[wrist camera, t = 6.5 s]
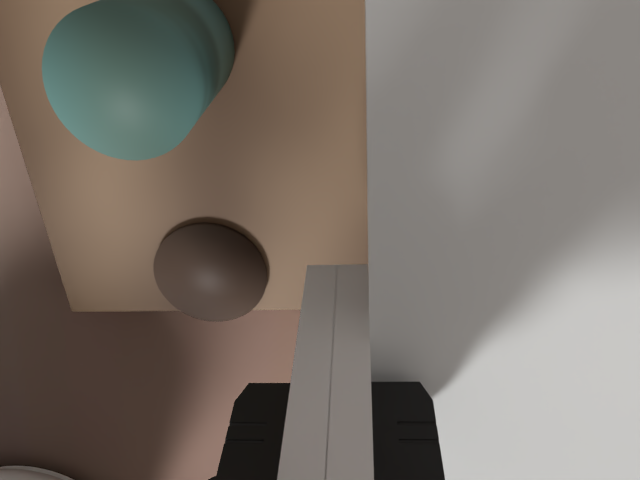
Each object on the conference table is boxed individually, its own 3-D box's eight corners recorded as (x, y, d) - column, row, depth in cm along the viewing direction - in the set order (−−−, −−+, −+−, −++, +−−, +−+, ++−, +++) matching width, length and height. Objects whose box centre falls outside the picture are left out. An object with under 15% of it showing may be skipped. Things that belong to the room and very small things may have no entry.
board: (85, 302, 21) (15, 405, 17) (-9, -16, 16) (-146, 14, 12) (368, 298, 20) (371, 405, 16) (363, -35, 15) (367, -11, 11)
